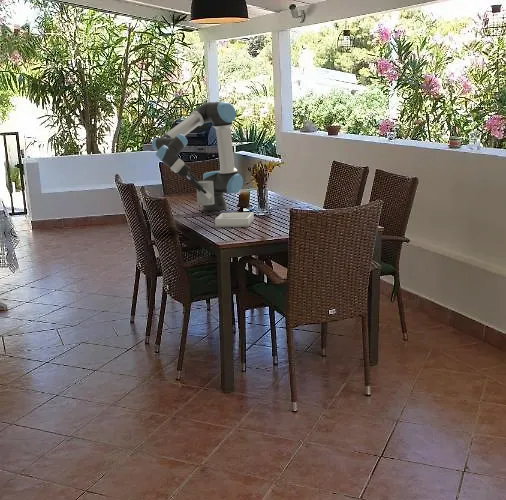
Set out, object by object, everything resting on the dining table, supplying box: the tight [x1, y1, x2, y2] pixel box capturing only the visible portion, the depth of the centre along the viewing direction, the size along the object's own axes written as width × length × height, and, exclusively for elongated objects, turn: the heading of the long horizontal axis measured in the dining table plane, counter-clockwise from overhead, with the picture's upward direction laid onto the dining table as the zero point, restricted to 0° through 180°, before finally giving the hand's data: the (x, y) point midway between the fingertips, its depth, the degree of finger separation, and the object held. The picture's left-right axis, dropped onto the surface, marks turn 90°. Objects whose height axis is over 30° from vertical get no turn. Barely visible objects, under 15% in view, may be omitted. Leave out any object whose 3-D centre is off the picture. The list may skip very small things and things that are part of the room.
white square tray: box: [214, 211, 255, 228], centre depth 385 cm, size 18×18×4 cm
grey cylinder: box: [196, 180, 215, 206], centre depth 390 cm, size 10×10×12 cm
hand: (211, 195), depth 390 cm, fingers closed on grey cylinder, 9 cm apart
